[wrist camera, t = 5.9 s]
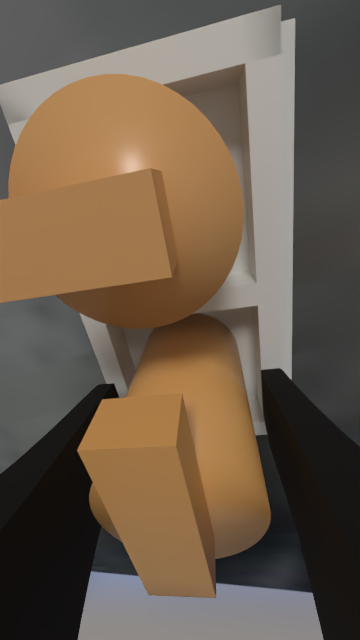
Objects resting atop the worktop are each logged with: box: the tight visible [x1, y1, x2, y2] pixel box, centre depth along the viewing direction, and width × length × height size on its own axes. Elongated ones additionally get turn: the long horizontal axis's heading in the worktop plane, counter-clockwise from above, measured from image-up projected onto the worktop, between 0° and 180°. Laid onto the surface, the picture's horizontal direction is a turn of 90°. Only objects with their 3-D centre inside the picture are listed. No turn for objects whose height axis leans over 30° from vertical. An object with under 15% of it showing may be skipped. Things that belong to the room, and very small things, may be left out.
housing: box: [0, 5, 295, 435], centre depth 8 cm, size 14×8×7 cm, turn 10°
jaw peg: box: [77, 313, 271, 598], centre depth 8 cm, size 5×4×7 cm
